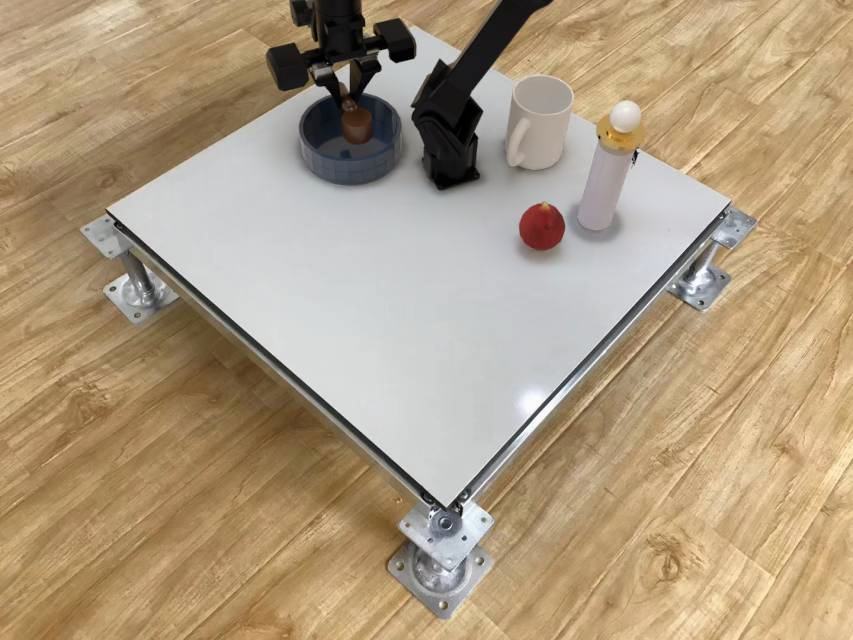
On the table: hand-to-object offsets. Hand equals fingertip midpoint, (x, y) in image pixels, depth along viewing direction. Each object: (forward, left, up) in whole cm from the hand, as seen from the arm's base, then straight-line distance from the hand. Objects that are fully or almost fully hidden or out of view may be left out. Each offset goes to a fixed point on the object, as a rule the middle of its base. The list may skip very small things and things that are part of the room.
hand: (346, 105), depth 105 cm
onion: (-16, +27, -7) cm, 33 cm away
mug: (-22, +12, -7) cm, 27 cm away
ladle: (0, +2, -2) cm, 2 cm away
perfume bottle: (-25, +26, -7) cm, 37 cm away
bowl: (0, +1, -7) cm, 7 cm away
